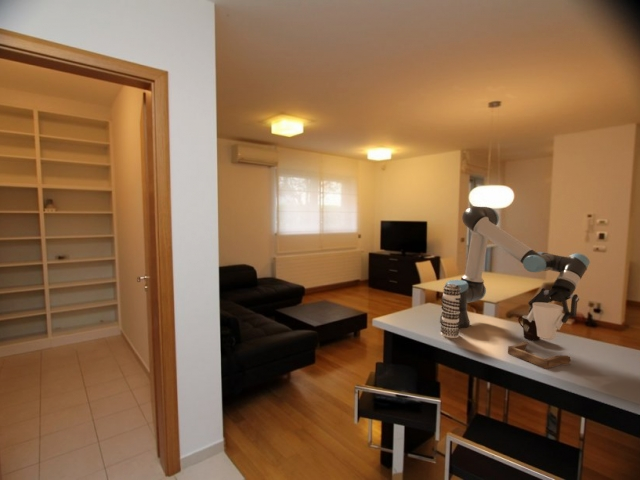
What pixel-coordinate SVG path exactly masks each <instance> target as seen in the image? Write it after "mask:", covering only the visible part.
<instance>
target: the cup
mask: <svg viewBox="0 0 640 480" xmlns="http://www.w3.org/2000/svg"><path fill="white" fill-rule="evenodd" d="M562 313H564V308H563V305H561V304H560V305H559V304H555V303H551V302H548V303H543V302H535V303H533V314H534V319H535V323H536V328H537V336H538V337H540V339H544V340H549V341H550V340H552V341H553V340H555V338H556V333H557V331H558V330H557V328H556V327H555V324H556V322H557V321H558V319H559V317H560V315H561V314H562Z"/></svg>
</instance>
